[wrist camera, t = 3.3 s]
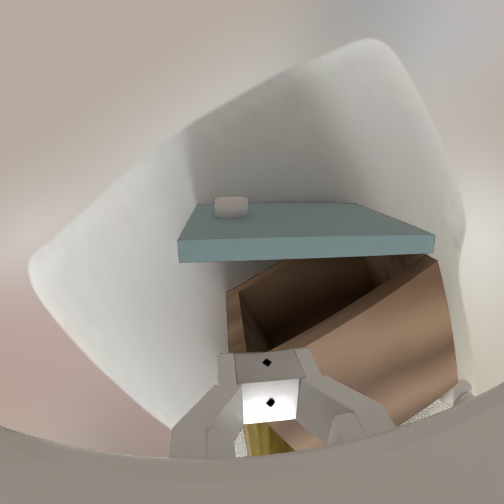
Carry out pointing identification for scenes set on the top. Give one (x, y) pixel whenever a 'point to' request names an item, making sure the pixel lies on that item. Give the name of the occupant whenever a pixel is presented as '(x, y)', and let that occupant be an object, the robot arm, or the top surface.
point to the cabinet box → (353, 328)
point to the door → (294, 232)
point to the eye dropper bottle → (457, 393)
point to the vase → (264, 440)
